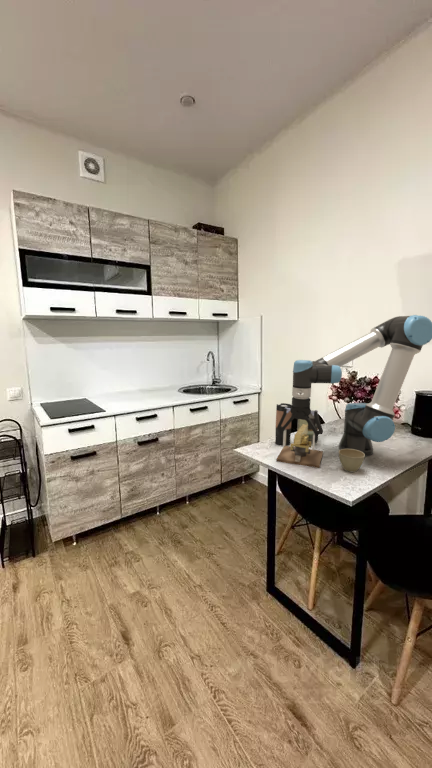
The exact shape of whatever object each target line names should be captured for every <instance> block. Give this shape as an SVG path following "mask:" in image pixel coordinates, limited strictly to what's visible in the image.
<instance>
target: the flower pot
mask: <svg viewBox="0 0 432 768" xmlns="http://www.w3.org/2000/svg"><path fill="white" fill-rule="evenodd" d="M338 457H339V458H338V459H339V461H340V464H341V466H342V468H343V470H345V471H347V472H351V473H354V472H357V471H358V470H359V469H360V467H361V466H362V464H363V463H364V460H365V458H366V456H365V454H364V453H363V452H361V451H358V450H355V449H341V450H339V449H338Z"/></svg>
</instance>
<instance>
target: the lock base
mask: <svg viewBox="0 0 432 768" xmlns="http://www.w3.org/2000/svg"><path fill="white" fill-rule="evenodd" d="M305 449H306V448H302V447H296V446H294V449H293V450H290V445H288V446H282V449H281V450H280V452H279V454H278V456H277V457H276V459H275V460H276V461H275V462H279V463H283V464H290V465H296V466H301V467H302V466H304V467H309V468H316V469H320V467H321V463H322V458H323V455H324V451H323V450H320V449H314V450H312V448H309V452H305Z"/></svg>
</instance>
